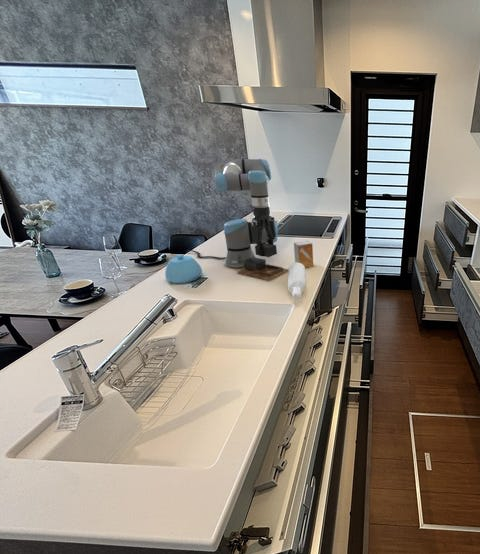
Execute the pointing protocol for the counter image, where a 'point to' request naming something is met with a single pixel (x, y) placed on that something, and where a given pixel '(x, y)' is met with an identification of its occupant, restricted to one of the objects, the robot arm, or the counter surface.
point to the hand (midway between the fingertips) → (266, 253)
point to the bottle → (297, 280)
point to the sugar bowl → (182, 269)
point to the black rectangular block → (267, 250)
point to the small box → (304, 253)
